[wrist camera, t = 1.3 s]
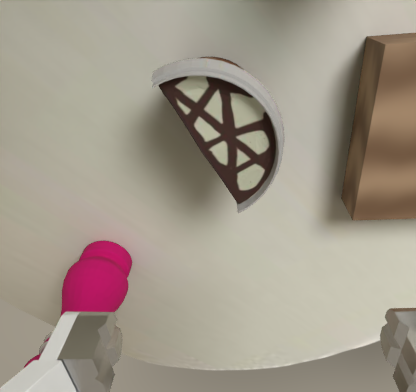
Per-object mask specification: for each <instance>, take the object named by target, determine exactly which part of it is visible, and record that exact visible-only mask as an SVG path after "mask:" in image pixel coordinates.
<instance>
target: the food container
mask: <svg viewBox="0 0 416 392" xmlns="http://www.w3.org/2000/svg"><path fill="white" fill-rule="evenodd" d="M151 81H152V82H153V83H154V84H153V86H152V87H155V86H157V85H159V87H160V89H161V90H162V92H163V94H164V95H165V97H166V98H167V99H168V100H169V102H170V103H171V104H172V106H173V107H174V109H175V110H176V112H177V113H178V115H179V116H180V118H181V120H182V121H183V123H184V124H185V126H186V127H187V129H188V130H189V132H190V134H191V135H192V137H193V139H194V140H195V142H196V143H197V145H198V147H199V148H200V150H201V152H202V153H203V154H204V156H205V157H206V158H207V160H208V161H209V163H210V164H211V165H212V167H213V168H214V169H215V171H216V172H217V174H218V175H219V176H220V178H221V179H222V181H223V182H224V184H225V185H226V187H227V188H228V190H229V191H230V193H231V194H232V196H233V197H234V199H235V200H236V201H237V209H238V213H240V212H242V211H244V210H245V209H247V208H249V207H250V206H251V205H253V204H254V203H255V202H257V201H258V200H259V199H260V197H261V196H262V195H263V194H264V193H265V192H266V191H267V189H268V188H269V186H270V185H271V184H272V182H273V180H274V178H275V176H276V175H277V173H278V170H279V167H280V163H281V160H282V154H283V147H284V126H283V121H282V117H281V114H280V111H279V109H278V106H277V104H276V102H275V101H274V99H273V97H272V96H271V94H270V93H269V91H268V90H267V89H266V88H265V87H264V86H263V85H262V83H261V82H260V81H258V80H257V79H256V78H255V77H253V76H252V75H251V74H250V73H248V72H246V71H245V70H243V69H242V68H241V67H240V66H238V65H237V64H235V63H233V62H231V61H229V60H226V59H223V58H218V57H201V58H191V59H185V60H179V61H176V62H173V63H170V64H167V65H164V66H162V67H161V68H159V69H157V70H155V71H153V74H152V80H151Z"/></svg>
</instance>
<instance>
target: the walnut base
mask: <svg viewBox="0 0 416 392" xmlns="http://www.w3.org/2000/svg"><path fill="white" fill-rule="evenodd" d="M342 200H343V202H344V204H345V206H346V208H347V210H348V212H349V214H350V216H351V218H352V220H379V219H410V218H416V33H407V34H394V35H381V36H368V37H367V39H366V45H365V51H364V58H363V64H362V70H361V77H360V83H359V90H358V96H357V102H356V109H355V115H354V121H353V128H352V134H351V140H350V147H349V153H348V160H347V166H346V172H345V179H344V185H343V191H342Z"/></svg>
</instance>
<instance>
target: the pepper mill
mask: <svg viewBox="0 0 416 392" xmlns="http://www.w3.org/2000/svg"><path fill="white" fill-rule="evenodd" d="M131 266H132V260H131V257H130V255H129V253H128V252H127V251H126V250H125V249H124V248H123V247H121V246H120V245H118V244H116V243H113V242H109V241H97V242H94V243H91V244H90V245H88V246H87V247H86V248H85V250H84V251H83V253H82V255H81V257H80V259H79V261H78V262H77V263H75V264H74V265H73V266H71V268H70V269H69V270H68V272H67V275H66V277H65V279H64V283H63V289H62V311H61V316H62V315H63V314H64V313H65V312H115V311H116V310H117V309H118V308H119V306H120V305H121V304H122V302H123V301H124V298H125V296H126V294H127V291H128V280H127V277H128V275H129V272H130V269H131ZM61 316H60V317H61ZM52 333H53V332H52ZM52 333H50V334H48V335H47V336H46V338H45V339H44V343H43V344H42V346H41V347H40V350H39V355H37V356H35V357H34V358H32V359H31V360H30V361H29V362H28V363H27V364H26V365H25V366H24V368H25V367H26V366H27V365H28V364H30V363H31V362H32V361H33V360H39V358H40V356H41V354H42V352H43V350H44V348H45V346H46V344H47V342H48V341H49V339H50V337H51V335H52ZM24 368H23V369H24Z"/></svg>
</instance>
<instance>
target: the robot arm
mask: <svg viewBox="0 0 416 392" xmlns="http://www.w3.org/2000/svg"><path fill="white" fill-rule="evenodd" d="M385 318H386V321H387V324H386V325H385V326H383V327H382V330H381V334H380V339H381V346H382V350H383V354H384V356H385V359H386V361H387V362H388V363H390V364H391V365H392V366H393V367H394V368H395V371H394V374H393V378H394V380H395V382H396V385H397V387H398V389H399V392H416V308H394V309H389V310H388V311H387V312H386V315H385ZM116 321H117V318H116V315H115V313H114V312H65V313H64V314H63V315H62V316H61V317H60V319H59V321H58V323H57V325H56V327H55V329H54V331H53V333H52V335H51V337H50V339H49V341H48V342H47V344H46V346H45V348H44V350H43V352H42V354H41V356H40V358H39V360H33V361H32V362H31V363H30V364H28V365H27V366H26V367H25V368H24V369H22V370H21V371H20V372H19V373H18V374H16V375H15V376H14V377H13V378H11V379H10V380H9V381H8V382H7V383H5V384H4V385H3V386H2V387H0V392H110V388H111V385H112V382H113V378H114V375H115V374H114V371H113V368H112V366H114V365H115V364H116V363H117V362H118V361H119V358H120V355H121V351H122V333H121V330H120V328H118V327H117V326H116V325H115V324H116Z"/></svg>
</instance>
